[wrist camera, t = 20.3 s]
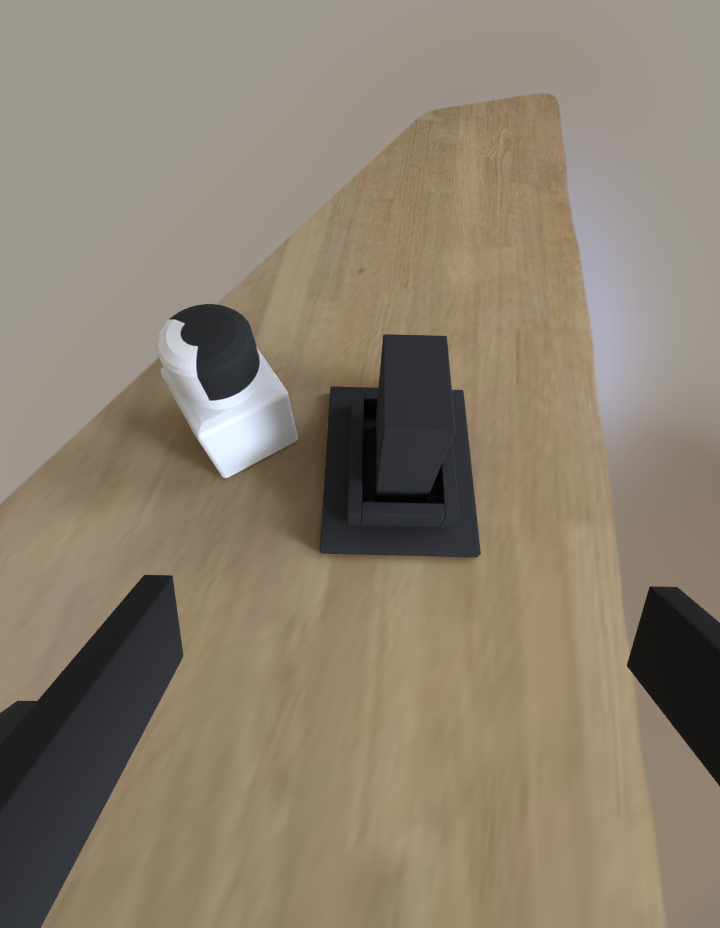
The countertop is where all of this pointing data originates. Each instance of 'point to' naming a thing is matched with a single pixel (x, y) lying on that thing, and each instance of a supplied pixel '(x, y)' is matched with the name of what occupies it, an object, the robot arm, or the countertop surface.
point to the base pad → (392, 523)
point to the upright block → (412, 416)
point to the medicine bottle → (225, 387)
